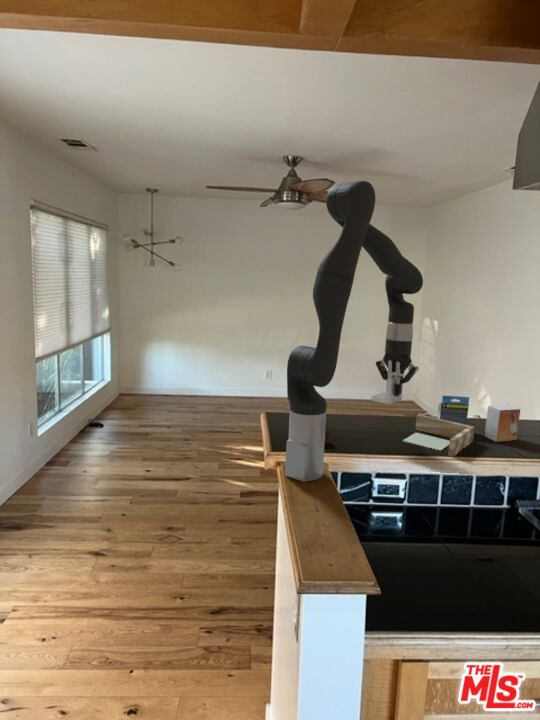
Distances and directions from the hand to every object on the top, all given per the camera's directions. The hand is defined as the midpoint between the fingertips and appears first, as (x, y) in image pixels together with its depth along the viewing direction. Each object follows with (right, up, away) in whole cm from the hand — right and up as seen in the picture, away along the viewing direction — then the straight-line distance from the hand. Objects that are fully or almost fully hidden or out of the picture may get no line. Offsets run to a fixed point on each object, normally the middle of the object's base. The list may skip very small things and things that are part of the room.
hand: (394, 395), depth 151 cm
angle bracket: (-2, -2, +2) cm, 3 cm away
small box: (+37, -15, +11) cm, 41 cm away
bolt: (-23, -14, +9) cm, 28 cm away
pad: (+12, -15, +6) cm, 20 cm away
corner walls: (+14, -15, +7) cm, 21 cm away
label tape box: (+23, -13, +18) cm, 33 cm away
